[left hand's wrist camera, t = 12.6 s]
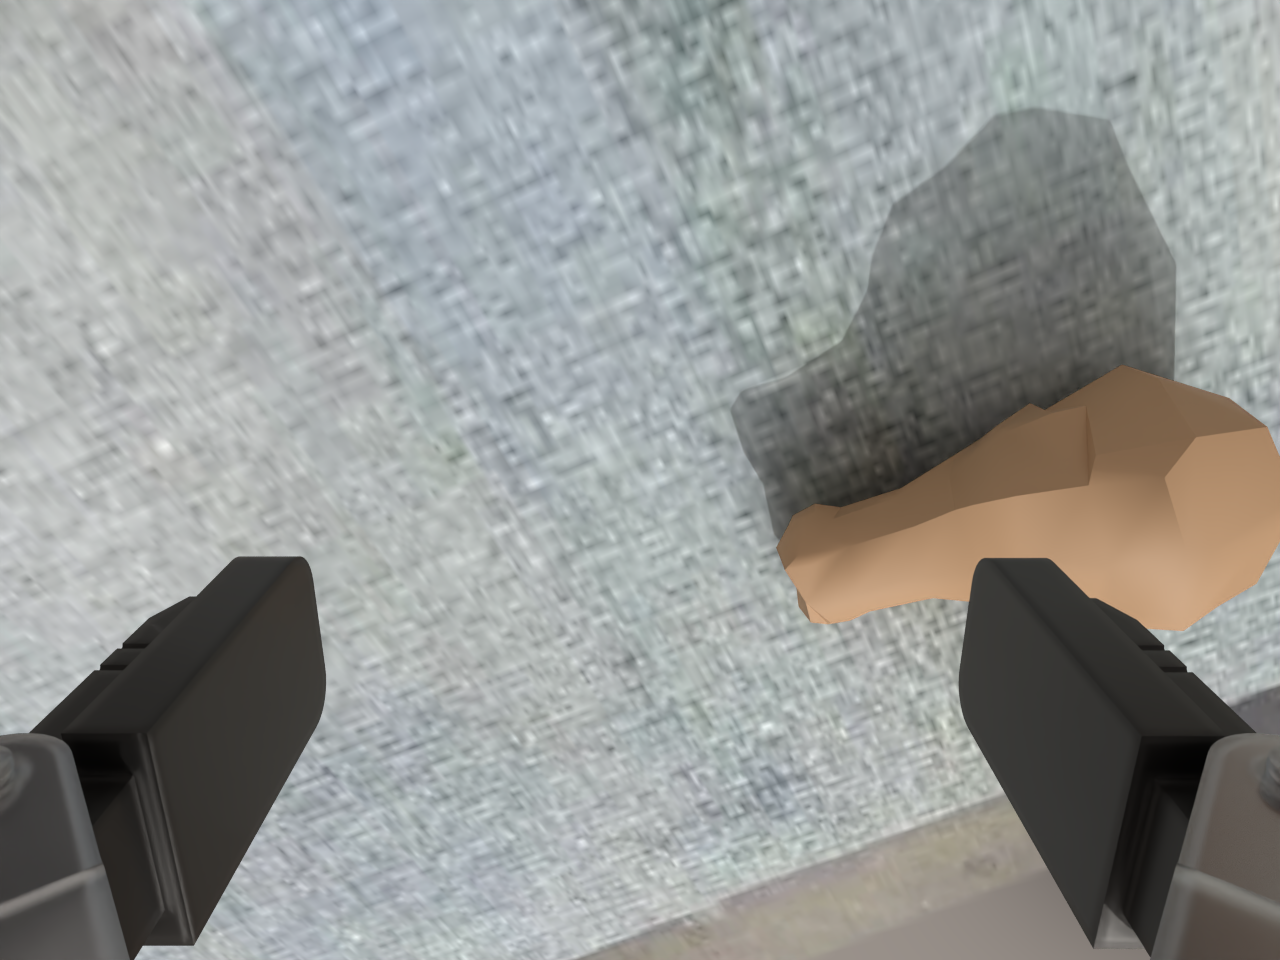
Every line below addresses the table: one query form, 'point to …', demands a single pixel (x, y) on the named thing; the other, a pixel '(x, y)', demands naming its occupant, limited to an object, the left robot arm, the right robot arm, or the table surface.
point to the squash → (1065, 509)
